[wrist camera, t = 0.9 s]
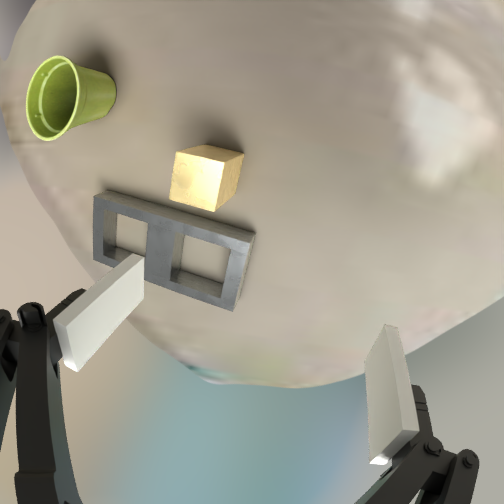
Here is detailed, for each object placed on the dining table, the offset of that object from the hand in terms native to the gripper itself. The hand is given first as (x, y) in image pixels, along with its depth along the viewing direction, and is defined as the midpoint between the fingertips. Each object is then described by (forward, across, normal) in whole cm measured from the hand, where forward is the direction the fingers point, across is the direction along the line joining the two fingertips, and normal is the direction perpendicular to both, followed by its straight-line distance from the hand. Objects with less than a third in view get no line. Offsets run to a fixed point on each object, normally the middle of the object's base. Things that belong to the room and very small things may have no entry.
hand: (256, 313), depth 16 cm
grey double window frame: (+19, -14, -8) cm, 25 cm away
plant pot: (+19, -26, +9) cm, 34 cm away
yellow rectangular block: (+19, -9, +2) cm, 21 cm away
